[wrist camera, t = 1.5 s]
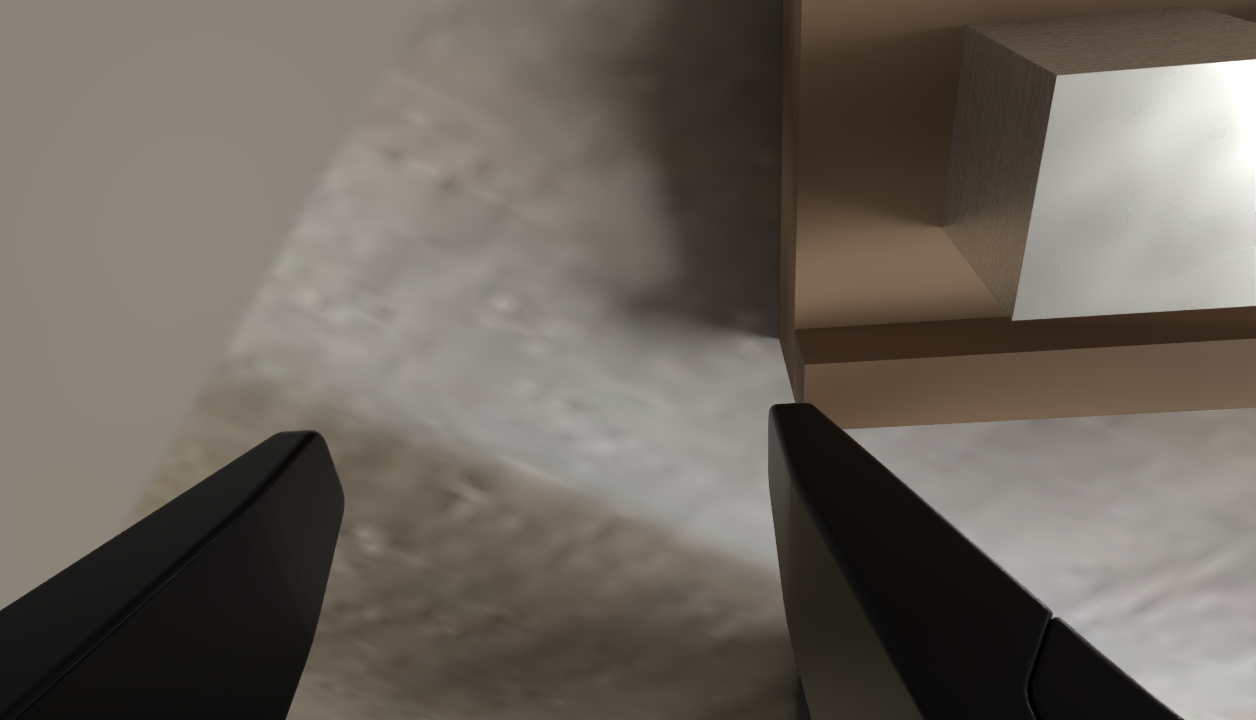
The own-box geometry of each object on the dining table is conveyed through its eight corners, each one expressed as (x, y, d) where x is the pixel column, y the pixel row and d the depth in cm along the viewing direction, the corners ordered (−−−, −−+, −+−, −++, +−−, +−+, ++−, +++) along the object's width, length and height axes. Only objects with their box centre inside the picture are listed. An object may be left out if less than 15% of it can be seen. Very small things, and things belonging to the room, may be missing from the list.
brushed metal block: (1139, 213, 17) (1261, 305, 13) (941, 227, 17) (1011, 320, 14) (1193, 5, 15) (1353, 51, 11) (966, 24, 15) (1056, 75, 12)
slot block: (1424, 300, 20) (1577, 390, 17) (779, 339, 22) (802, 431, 18) (1719, -313, 14) (2055, -365, 11) (785, -213, 15) (823, -232, 12)
